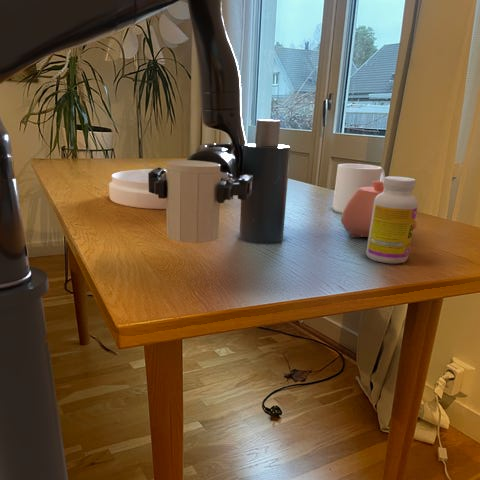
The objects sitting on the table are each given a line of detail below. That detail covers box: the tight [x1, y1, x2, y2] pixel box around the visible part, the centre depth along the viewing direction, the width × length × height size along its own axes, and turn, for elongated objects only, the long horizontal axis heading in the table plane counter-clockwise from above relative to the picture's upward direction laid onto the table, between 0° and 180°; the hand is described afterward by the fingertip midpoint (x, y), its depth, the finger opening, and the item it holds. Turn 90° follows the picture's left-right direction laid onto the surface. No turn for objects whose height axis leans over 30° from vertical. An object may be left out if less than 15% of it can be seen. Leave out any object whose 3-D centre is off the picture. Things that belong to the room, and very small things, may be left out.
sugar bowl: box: [340, 181, 418, 238], centre depth 90 cm, size 12×14×10 cm
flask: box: [239, 119, 291, 245], centre depth 83 cm, size 8×8×20 cm
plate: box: [108, 168, 166, 210], centre depth 117 cm, size 27×27×6 cm
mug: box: [332, 163, 386, 214], centre depth 112 cm, size 13×10×10 cm
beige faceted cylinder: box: [165, 159, 221, 244], centre depth 59 cm, size 6×7×9 cm
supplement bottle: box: [365, 175, 419, 265], centre depth 76 cm, size 7×7×13 cm
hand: (190, 192), depth 57 cm, fingers closed on beige faceted cylinder, 6 cm apart
